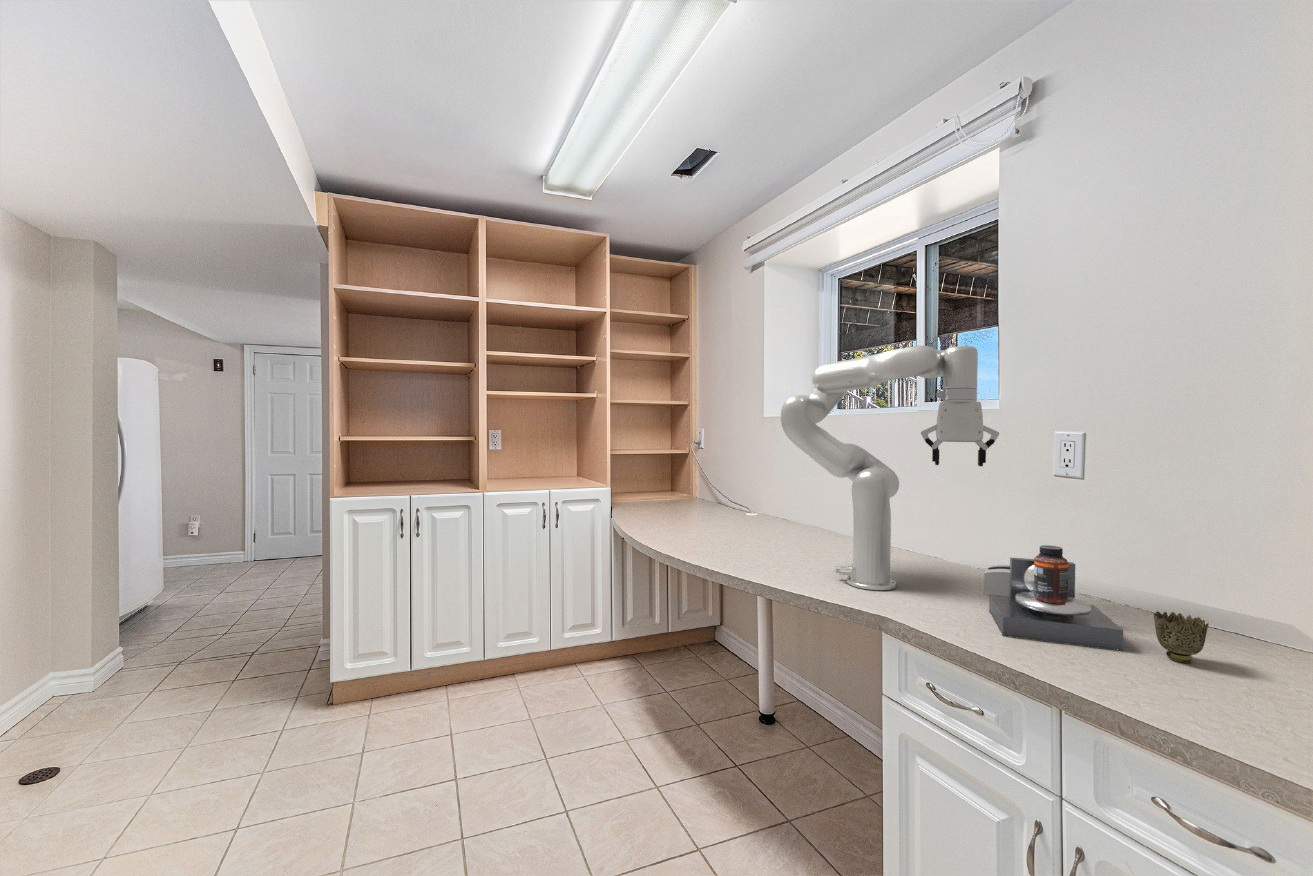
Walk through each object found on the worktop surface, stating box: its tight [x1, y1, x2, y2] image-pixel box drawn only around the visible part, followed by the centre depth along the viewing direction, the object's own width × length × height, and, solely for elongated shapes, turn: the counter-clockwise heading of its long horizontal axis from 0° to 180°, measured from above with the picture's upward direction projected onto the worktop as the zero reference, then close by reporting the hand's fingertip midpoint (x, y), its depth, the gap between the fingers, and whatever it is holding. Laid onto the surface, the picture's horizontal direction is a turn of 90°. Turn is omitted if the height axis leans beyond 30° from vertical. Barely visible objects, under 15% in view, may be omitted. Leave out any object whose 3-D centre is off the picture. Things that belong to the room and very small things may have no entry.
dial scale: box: [988, 556, 1124, 651], centre depth 122 cm, size 20×17×13 cm
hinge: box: [983, 564, 1010, 597], centre depth 141 cm, size 17×5×10 cm, turn 38°
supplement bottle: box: [1034, 544, 1069, 604], centre depth 120 cm, size 6×6×11 cm
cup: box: [1153, 610, 1209, 664], centre depth 106 cm, size 8×7×8 cm
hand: (958, 465), depth 143 cm, fingers open, 9 cm apart
